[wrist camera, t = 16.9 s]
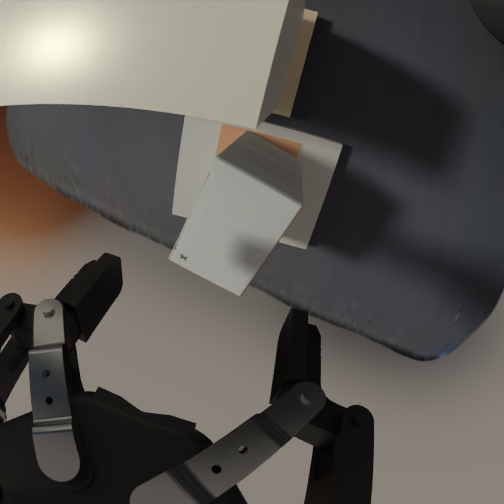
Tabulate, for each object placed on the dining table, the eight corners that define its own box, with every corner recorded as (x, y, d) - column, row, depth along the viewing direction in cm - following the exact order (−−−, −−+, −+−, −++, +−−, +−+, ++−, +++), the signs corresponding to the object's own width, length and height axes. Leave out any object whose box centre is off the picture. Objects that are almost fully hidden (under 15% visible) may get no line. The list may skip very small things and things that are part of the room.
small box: (258, 228, 29) (239, 300, 20) (207, 200, 28) (165, 261, 19) (303, 159, 24) (306, 206, 16) (246, 127, 24) (214, 155, 15)
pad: (340, 142, 24) (342, 145, 23) (305, 243, 30) (305, 249, 29) (191, 105, 24) (186, 106, 23) (176, 209, 30) (171, 214, 29)
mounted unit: (316, 16, 18) (346, -86, 4) (290, 116, 24) (279, 166, 9) (86, 6, 18) (-47, 0, 4) (71, 87, 24) (-62, 127, 9)
